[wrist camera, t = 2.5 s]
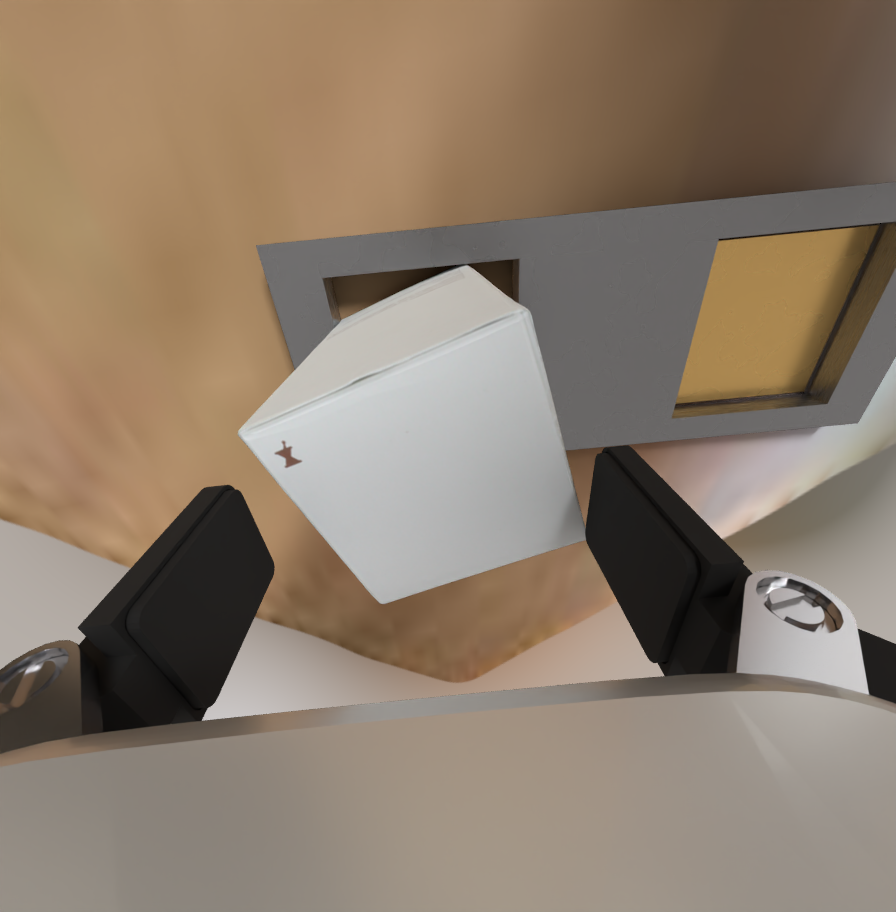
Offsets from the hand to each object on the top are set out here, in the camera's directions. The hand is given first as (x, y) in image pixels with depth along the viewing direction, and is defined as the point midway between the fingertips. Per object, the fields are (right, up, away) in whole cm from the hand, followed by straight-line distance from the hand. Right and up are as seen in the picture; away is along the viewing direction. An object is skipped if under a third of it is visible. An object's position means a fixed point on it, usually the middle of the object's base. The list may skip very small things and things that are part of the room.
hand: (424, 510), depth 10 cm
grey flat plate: (+9, +8, +10) cm, 16 cm away
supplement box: (0, +7, +11) cm, 13 cm away
